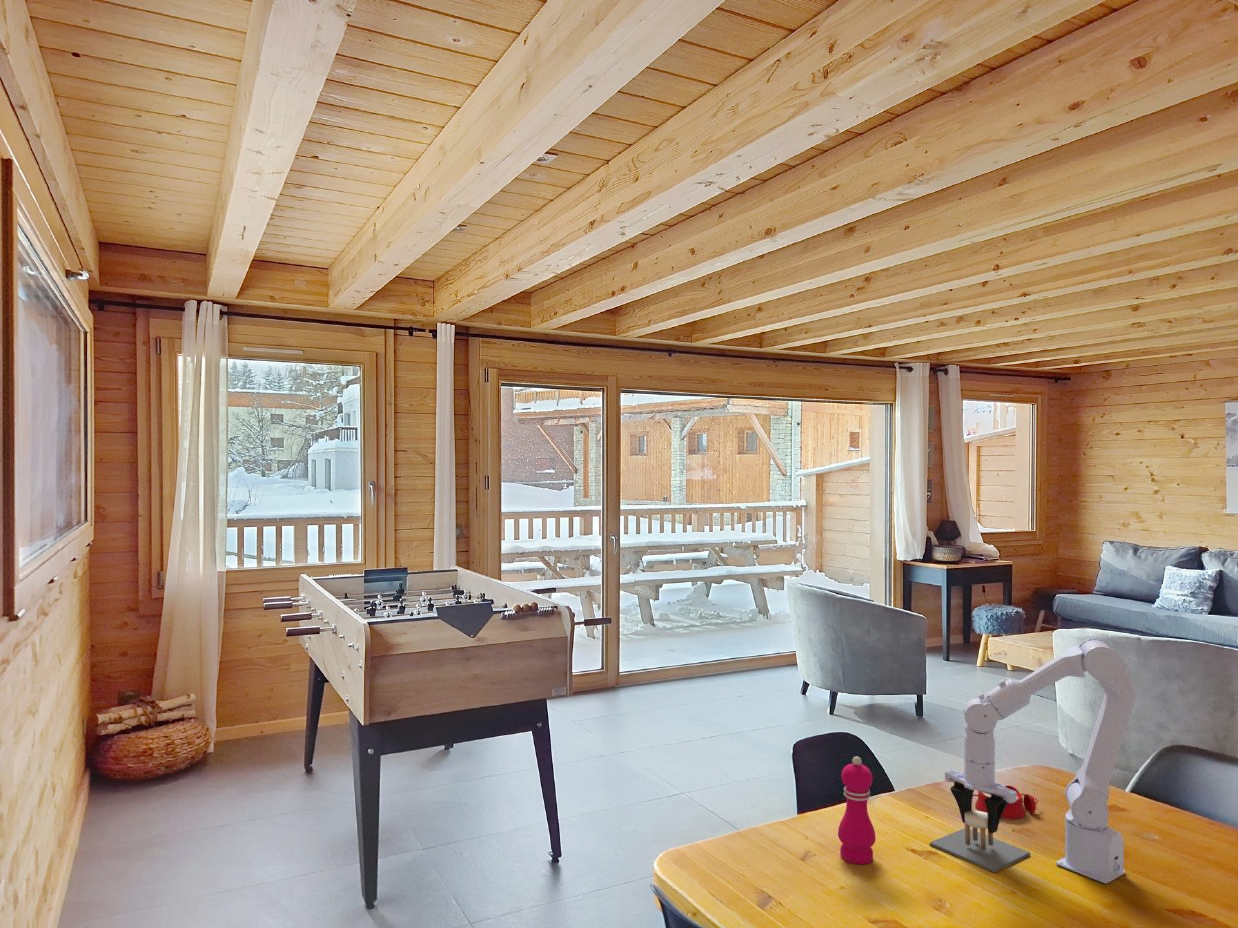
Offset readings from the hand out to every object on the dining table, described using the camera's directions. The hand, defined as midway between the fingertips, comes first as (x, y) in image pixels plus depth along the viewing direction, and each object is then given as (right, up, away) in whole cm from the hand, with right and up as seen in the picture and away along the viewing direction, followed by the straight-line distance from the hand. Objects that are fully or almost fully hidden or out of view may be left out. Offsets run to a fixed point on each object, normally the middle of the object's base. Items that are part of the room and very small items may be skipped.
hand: (979, 826), depth 166 cm
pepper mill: (-26, -5, -4) cm, 27 cm away
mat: (0, -5, 0) cm, 5 cm away
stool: (0, -3, 0) cm, 3 cm away
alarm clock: (+15, -6, +21) cm, 27 cm away
